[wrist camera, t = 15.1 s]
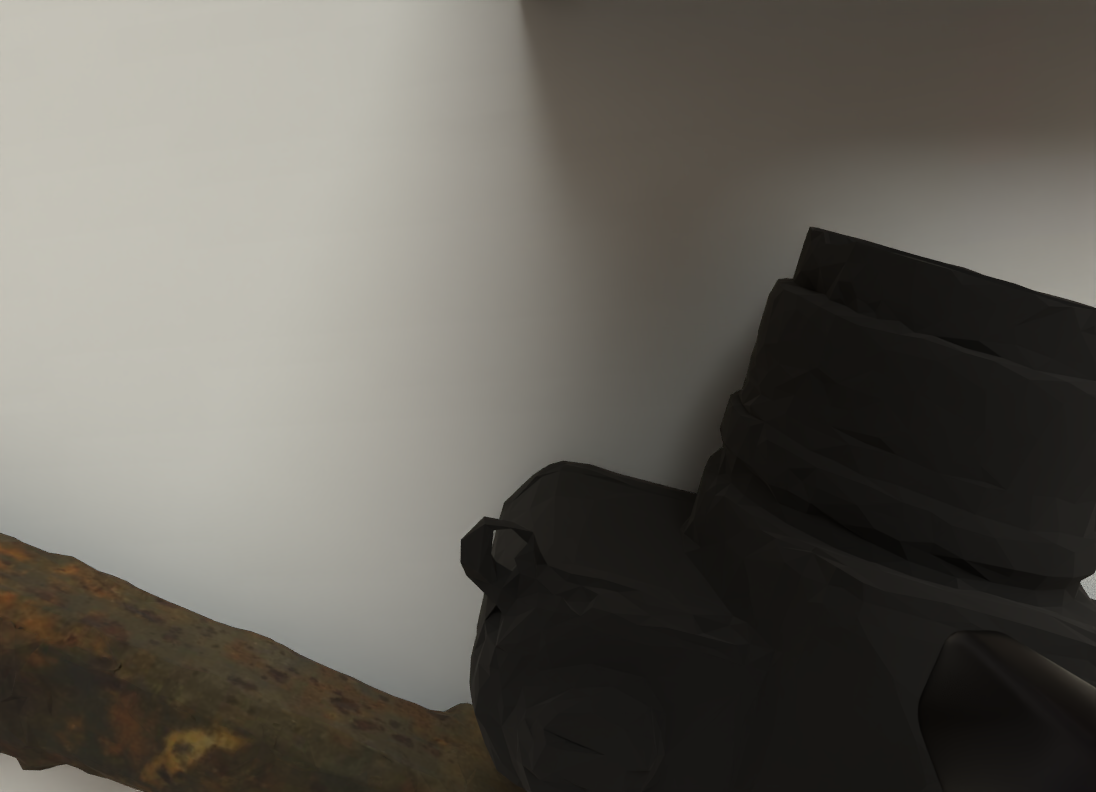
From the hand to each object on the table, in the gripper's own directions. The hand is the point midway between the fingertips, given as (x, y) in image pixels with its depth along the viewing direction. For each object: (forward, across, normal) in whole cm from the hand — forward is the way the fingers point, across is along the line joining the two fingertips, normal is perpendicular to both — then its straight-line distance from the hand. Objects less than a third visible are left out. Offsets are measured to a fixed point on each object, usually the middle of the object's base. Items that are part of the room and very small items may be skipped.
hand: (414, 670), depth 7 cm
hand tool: (+11, +2, +10) cm, 15 cm away
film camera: (+10, -10, +4) cm, 15 cm away
